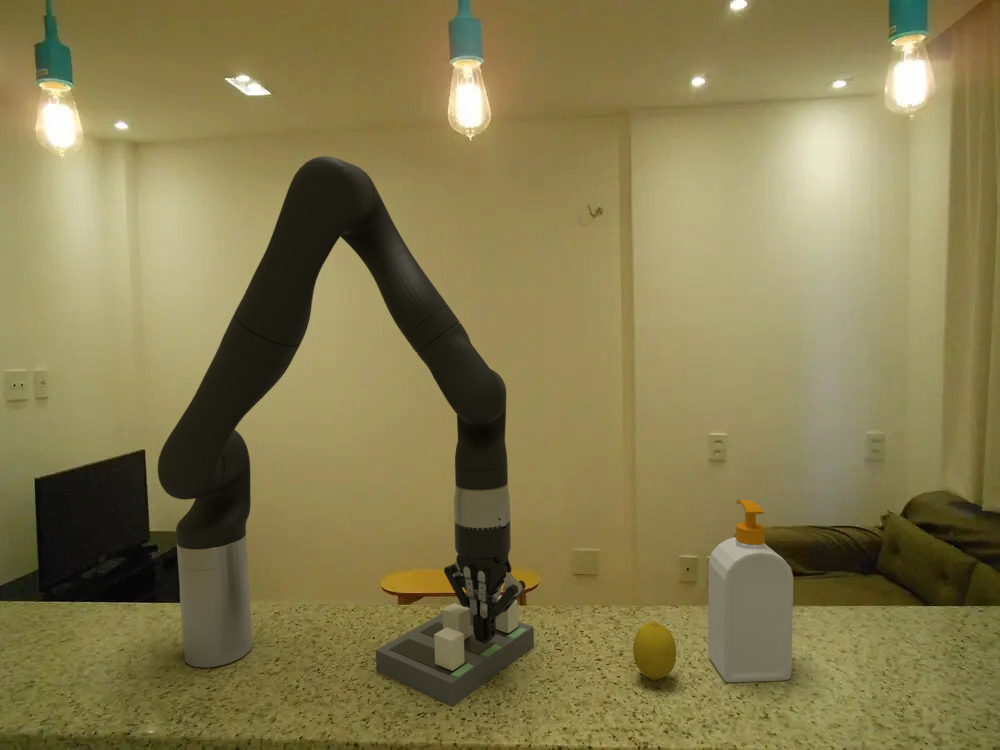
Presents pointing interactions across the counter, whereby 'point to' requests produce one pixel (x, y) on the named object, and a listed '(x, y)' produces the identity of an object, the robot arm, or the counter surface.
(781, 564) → the soap bottle
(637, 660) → the lemon
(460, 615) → the block
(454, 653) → the block
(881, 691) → the counter surface
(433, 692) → the breaker panel
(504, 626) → the block
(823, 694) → the counter surface
